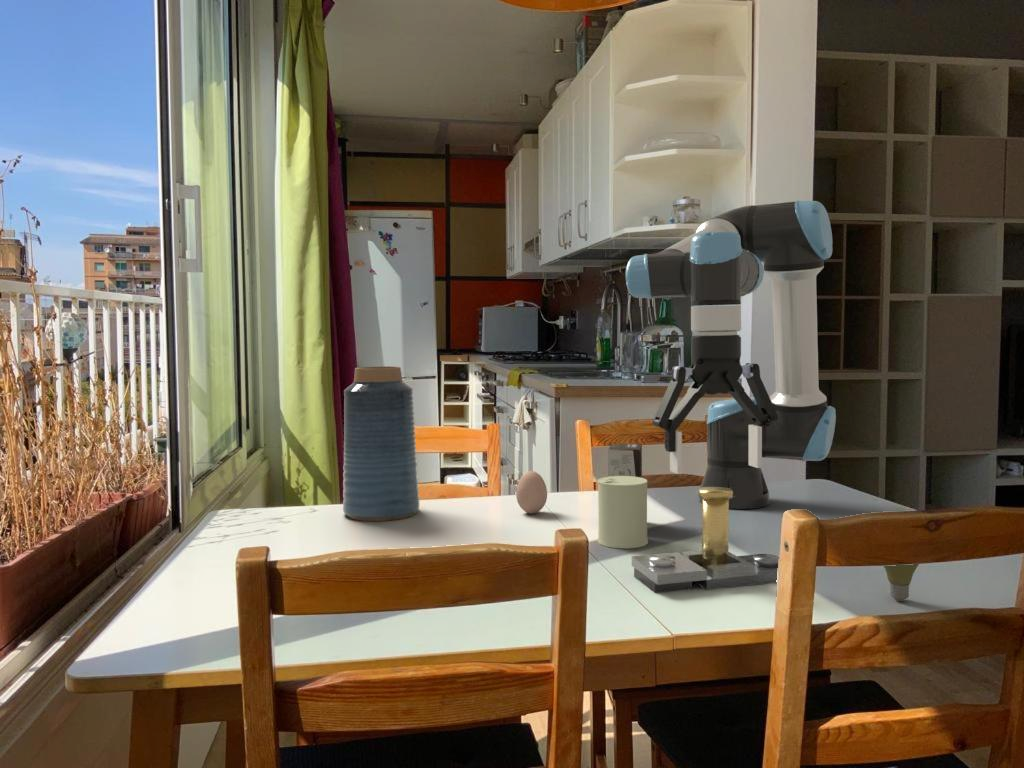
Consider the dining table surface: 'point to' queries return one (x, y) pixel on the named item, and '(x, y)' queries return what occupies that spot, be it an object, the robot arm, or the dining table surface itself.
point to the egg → (531, 492)
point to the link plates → (703, 571)
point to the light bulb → (900, 580)
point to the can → (622, 512)
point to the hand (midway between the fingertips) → (716, 469)
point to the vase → (379, 446)
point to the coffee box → (625, 459)
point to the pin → (715, 525)
